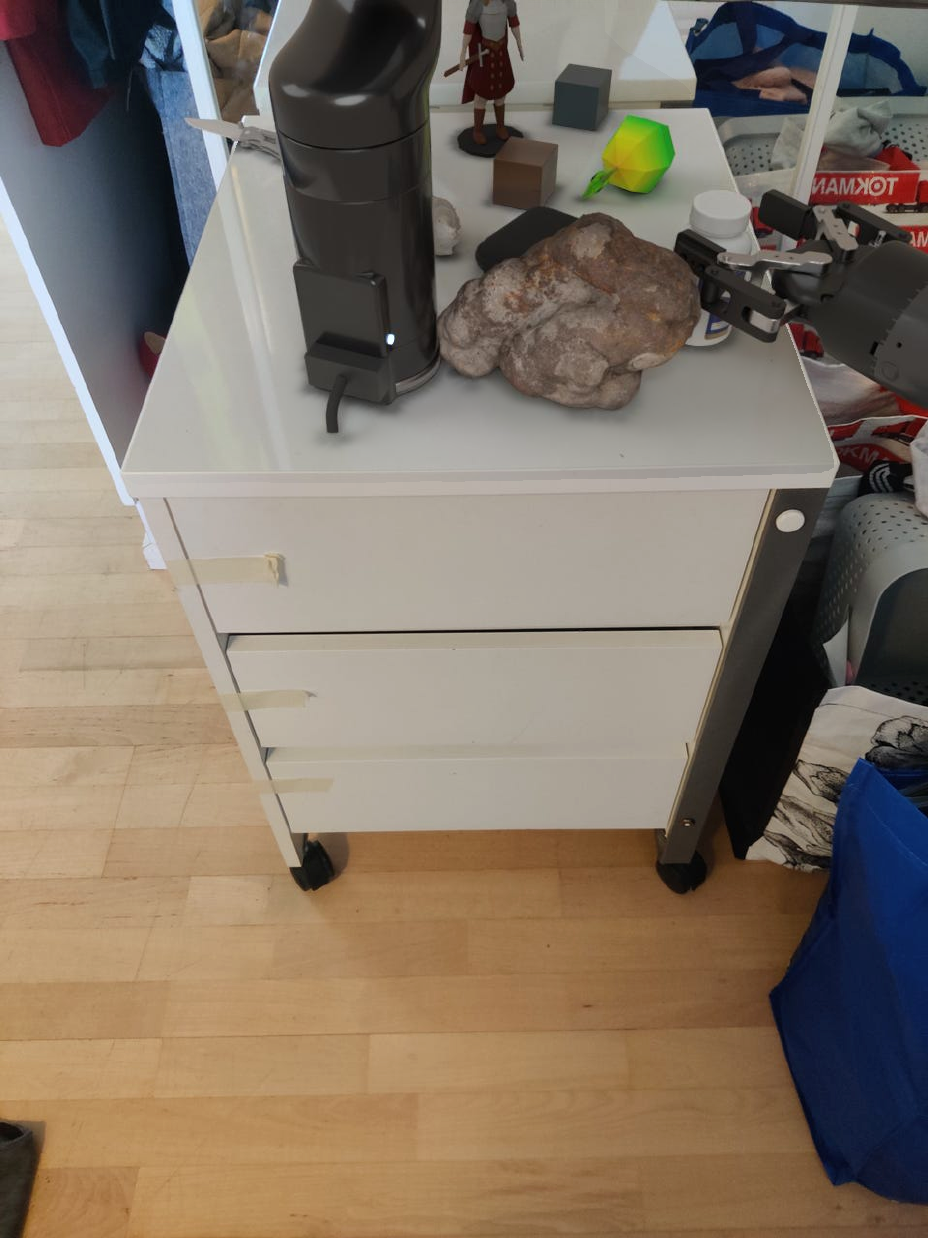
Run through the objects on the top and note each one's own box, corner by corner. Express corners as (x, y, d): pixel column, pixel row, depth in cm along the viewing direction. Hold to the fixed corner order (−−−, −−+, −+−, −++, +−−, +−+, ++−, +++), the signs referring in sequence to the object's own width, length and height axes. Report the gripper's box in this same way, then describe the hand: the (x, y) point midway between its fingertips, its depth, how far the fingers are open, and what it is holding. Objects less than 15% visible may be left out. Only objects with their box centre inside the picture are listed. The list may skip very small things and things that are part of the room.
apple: (664, 86, 78) (607, 121, 74) (703, 151, 79) (649, 189, 75) (611, 135, 84) (556, 170, 80) (648, 195, 86) (595, 233, 81)
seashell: (443, 271, 74) (430, 223, 71) (342, 207, 83) (327, 161, 79) (482, 246, 75) (472, 196, 71) (378, 184, 84) (365, 138, 80)
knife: (177, 133, 90) (196, 119, 92) (314, 176, 84) (333, 161, 86) (171, 117, 89) (191, 103, 90) (311, 160, 83) (330, 144, 84)
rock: (516, 364, 73) (479, 460, 69) (435, 246, 65) (388, 347, 60) (735, 315, 62) (707, 426, 57) (671, 165, 54) (633, 281, 49)
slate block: (595, 130, 89) (599, 87, 86) (552, 123, 90) (554, 80, 87) (607, 112, 92) (612, 69, 89) (565, 105, 93) (568, 62, 90)
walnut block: (539, 212, 80) (542, 166, 76) (492, 203, 81) (492, 157, 78) (555, 188, 82) (558, 143, 79) (509, 180, 83) (510, 135, 80)
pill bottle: (727, 309, 70) (758, 185, 62) (733, 350, 67) (767, 225, 59) (658, 305, 71) (680, 182, 63) (660, 346, 67) (684, 221, 60)
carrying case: (455, 281, 73) (608, 348, 67) (455, 245, 71) (613, 312, 65) (533, 227, 78) (681, 285, 72) (534, 192, 76) (688, 250, 70)
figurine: (471, 162, 85) (470, -24, 74) (444, 130, 90) (440, -50, 78) (535, 149, 87) (545, -35, 75) (506, 119, 91) (511, -60, 79)
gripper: (1018, 233, 54) (803, 137, 62) (870, 319, 49) (656, 202, 57) (964, 340, 60) (775, 239, 68) (827, 427, 55) (640, 307, 63)
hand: (721, 223), depth 62 cm, fingers open, 8 cm apart
